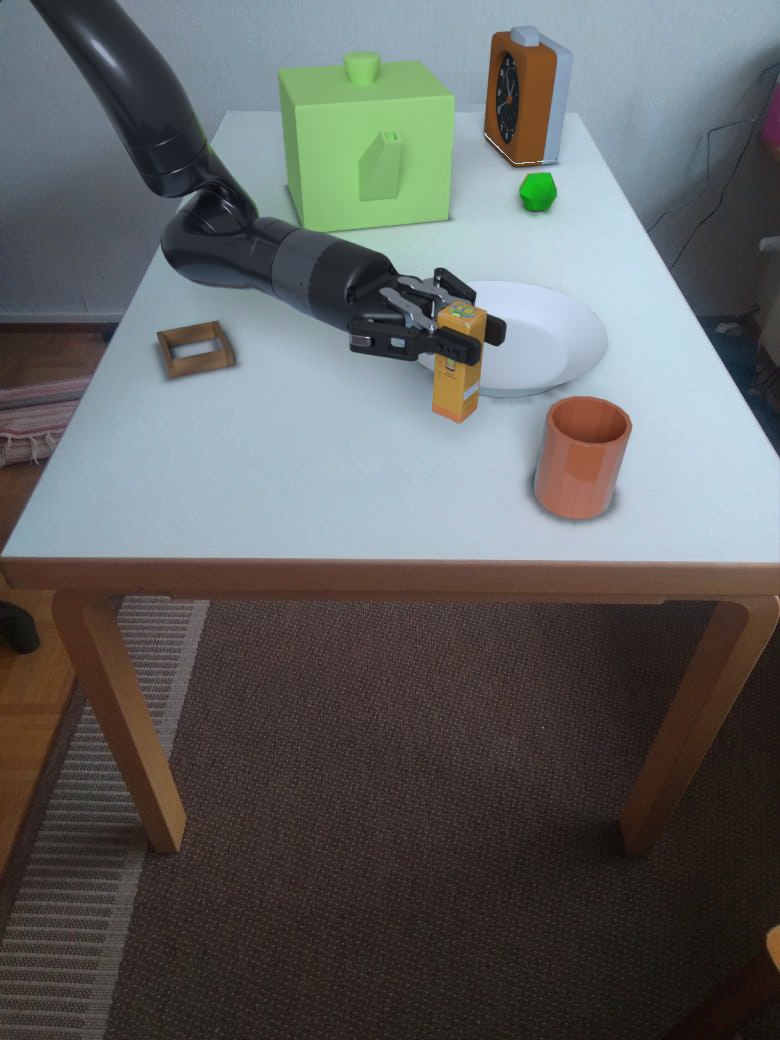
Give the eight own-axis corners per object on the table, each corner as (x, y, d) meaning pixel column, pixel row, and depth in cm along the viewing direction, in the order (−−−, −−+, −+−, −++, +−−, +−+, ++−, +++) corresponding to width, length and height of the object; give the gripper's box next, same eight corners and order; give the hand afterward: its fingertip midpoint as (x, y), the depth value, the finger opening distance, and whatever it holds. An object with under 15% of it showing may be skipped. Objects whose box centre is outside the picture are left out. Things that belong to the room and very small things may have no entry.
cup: (558, 527, 70) (575, 454, 63) (519, 478, 75) (532, 406, 68) (626, 507, 72) (649, 434, 65) (583, 460, 77) (601, 388, 70)
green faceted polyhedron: (552, 169, 115) (529, 150, 121) (520, 199, 117) (500, 178, 123) (573, 201, 120) (550, 180, 126) (542, 229, 122) (521, 207, 128)
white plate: (593, 432, 80) (599, 405, 77) (374, 396, 85) (373, 369, 82) (608, 319, 97) (614, 294, 94) (425, 295, 102) (426, 270, 99)
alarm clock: (481, 137, 148) (491, 16, 134) (522, 134, 150) (536, 14, 135) (514, 170, 135) (529, 40, 121) (558, 166, 137) (578, 37, 122)
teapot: (313, 257, 110) (301, 95, 95) (283, 173, 134) (270, 33, 119) (463, 241, 114) (475, 83, 98) (408, 162, 138) (410, 25, 123)
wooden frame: (170, 378, 87) (166, 364, 86) (159, 345, 92) (155, 331, 91) (234, 365, 89) (231, 350, 88) (220, 333, 94) (217, 320, 93)
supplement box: (480, 407, 67) (491, 309, 60) (459, 426, 65) (467, 327, 58) (451, 394, 69) (457, 296, 61) (429, 412, 67) (433, 313, 60)
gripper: (275, 270, 61) (445, 339, 53) (380, 216, 69) (541, 270, 61) (283, 348, 66) (439, 422, 59) (380, 290, 74) (528, 348, 67)
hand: (490, 344), depth 60 cm, fingers closed on supplement box, 3 cm apart
